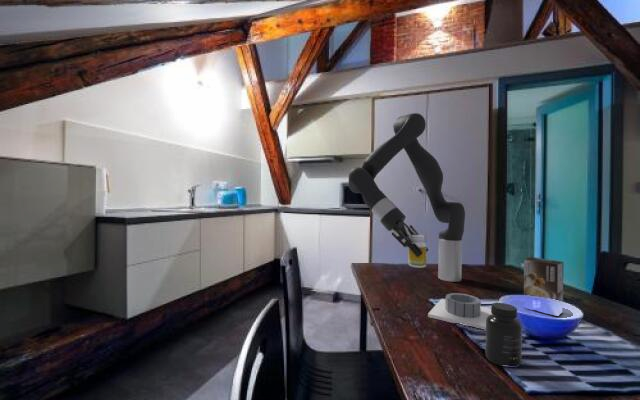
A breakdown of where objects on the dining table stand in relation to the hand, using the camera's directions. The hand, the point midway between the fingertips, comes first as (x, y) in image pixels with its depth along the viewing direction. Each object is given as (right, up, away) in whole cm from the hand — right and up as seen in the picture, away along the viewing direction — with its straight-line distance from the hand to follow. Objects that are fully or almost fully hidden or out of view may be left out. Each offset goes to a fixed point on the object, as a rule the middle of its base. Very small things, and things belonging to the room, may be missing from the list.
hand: (423, 253), depth 95 cm
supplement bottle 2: (+7, -19, -29) cm, 35 cm away
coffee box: (+38, -18, 0) cm, 42 cm away
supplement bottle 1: (-2, -4, +1) cm, 5 cm away
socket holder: (+10, -18, -4) cm, 21 cm away
